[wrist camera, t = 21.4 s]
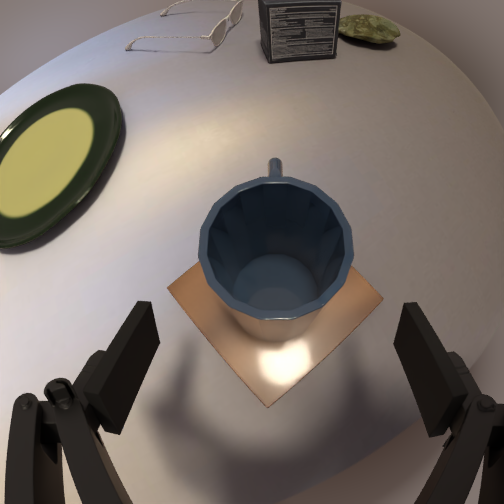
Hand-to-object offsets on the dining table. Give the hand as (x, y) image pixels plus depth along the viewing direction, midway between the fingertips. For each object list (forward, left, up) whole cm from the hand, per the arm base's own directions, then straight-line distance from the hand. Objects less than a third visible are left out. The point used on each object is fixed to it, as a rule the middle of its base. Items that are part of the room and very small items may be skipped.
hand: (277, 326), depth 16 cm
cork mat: (+3, -3, -12) cm, 13 cm away
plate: (+38, +9, -12) cm, 41 cm away
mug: (+4, -4, -11) cm, 13 cm away
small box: (+28, -31, -12) cm, 44 cm away
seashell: (+25, -45, -12) cm, 53 cm away
